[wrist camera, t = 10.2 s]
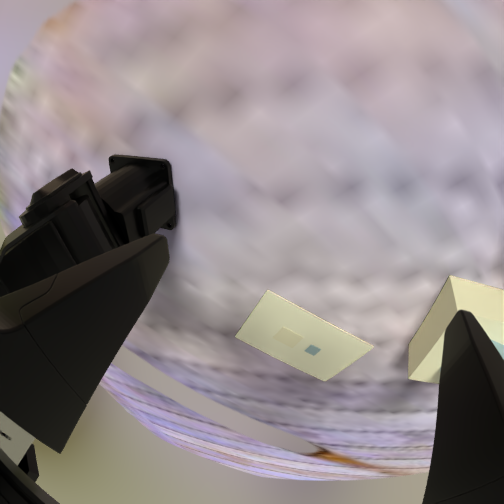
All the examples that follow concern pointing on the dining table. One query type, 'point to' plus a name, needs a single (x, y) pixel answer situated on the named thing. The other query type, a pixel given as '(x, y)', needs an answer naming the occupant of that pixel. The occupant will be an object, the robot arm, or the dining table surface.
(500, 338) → the base brick
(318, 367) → the plate
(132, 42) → the dining table surface
